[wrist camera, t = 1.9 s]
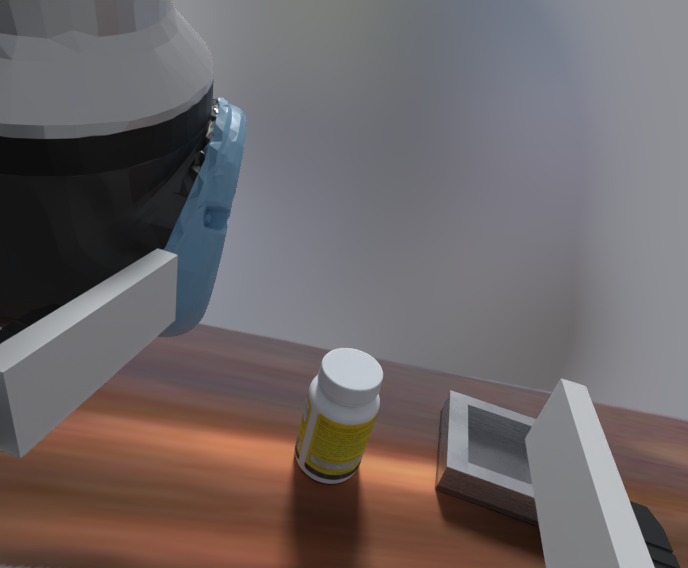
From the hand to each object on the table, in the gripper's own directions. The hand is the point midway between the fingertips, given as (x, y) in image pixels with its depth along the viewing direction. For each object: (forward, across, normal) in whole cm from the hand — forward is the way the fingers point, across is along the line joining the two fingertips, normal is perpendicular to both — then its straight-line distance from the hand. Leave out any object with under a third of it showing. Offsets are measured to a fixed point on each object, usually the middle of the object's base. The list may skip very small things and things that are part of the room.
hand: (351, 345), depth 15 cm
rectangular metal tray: (+14, +13, -17) cm, 26 cm away
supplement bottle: (+10, 0, -17) cm, 20 cm away
